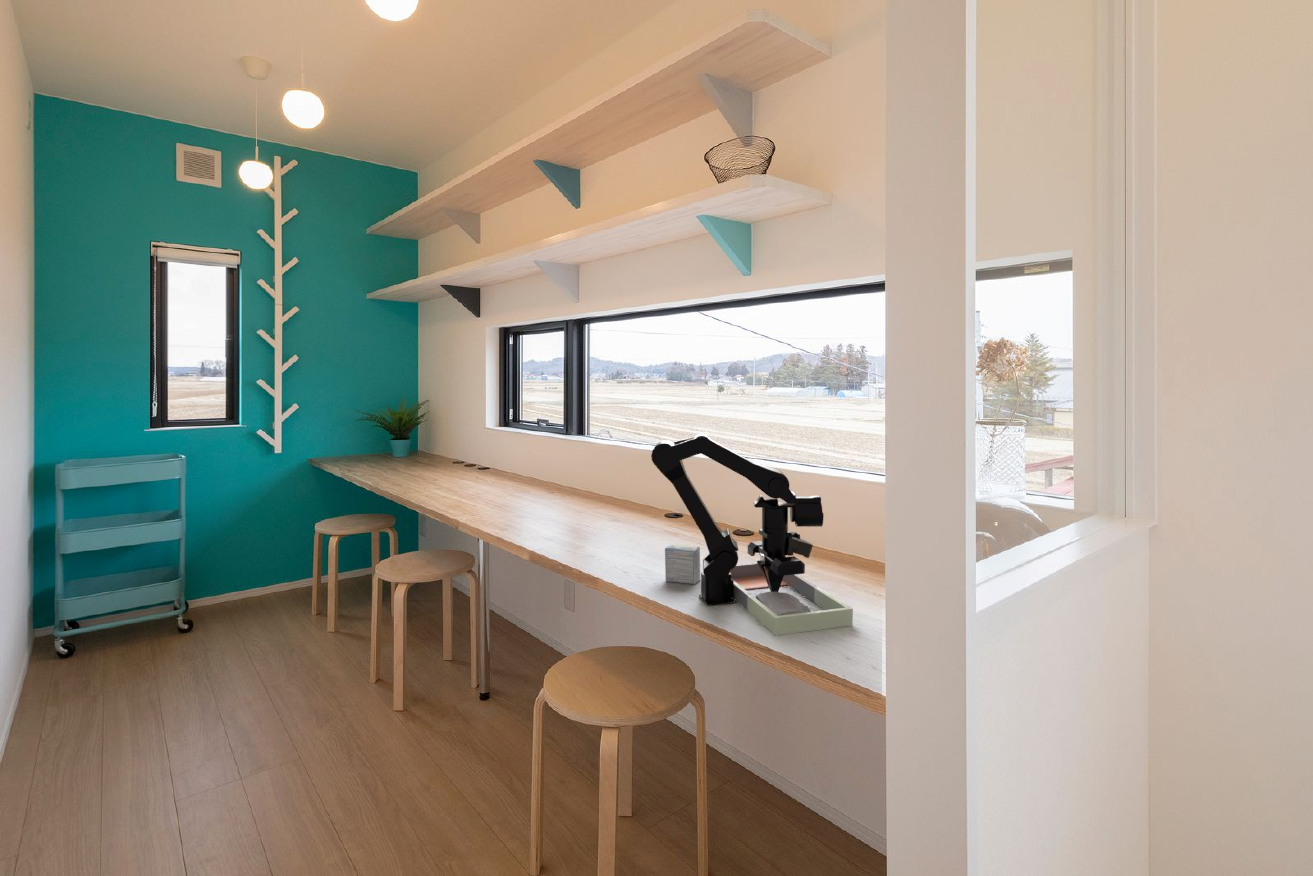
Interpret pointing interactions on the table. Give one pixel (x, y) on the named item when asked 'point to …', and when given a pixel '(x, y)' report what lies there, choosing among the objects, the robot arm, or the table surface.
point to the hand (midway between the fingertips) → (774, 594)
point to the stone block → (782, 603)
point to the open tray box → (792, 623)
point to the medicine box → (682, 563)
